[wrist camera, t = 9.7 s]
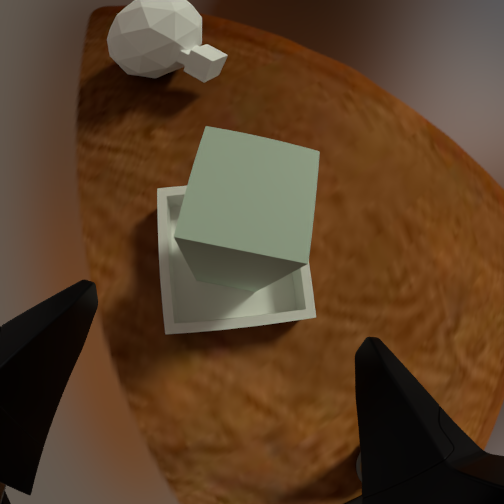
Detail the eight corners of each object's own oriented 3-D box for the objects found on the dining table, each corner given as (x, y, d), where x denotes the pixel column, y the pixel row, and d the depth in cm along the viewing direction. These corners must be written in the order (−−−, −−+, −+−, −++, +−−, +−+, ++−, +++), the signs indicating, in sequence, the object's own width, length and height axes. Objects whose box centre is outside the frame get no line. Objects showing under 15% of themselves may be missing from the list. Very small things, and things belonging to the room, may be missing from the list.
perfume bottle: (86, 72, 20) (170, 124, 21) (95, -8, 12) (202, 30, 14) (145, 45, 25) (225, 89, 26) (165, -21, 17) (262, 18, 18)
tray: (303, 316, 20) (316, 317, 17) (171, 331, 18) (165, 334, 16) (285, 194, 22) (294, 179, 19) (163, 203, 20) (157, 188, 18)
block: (255, 291, 19) (308, 263, 8) (196, 280, 19) (173, 236, 8) (265, 235, 20) (319, 151, 9) (208, 223, 20) (206, 126, 9)
